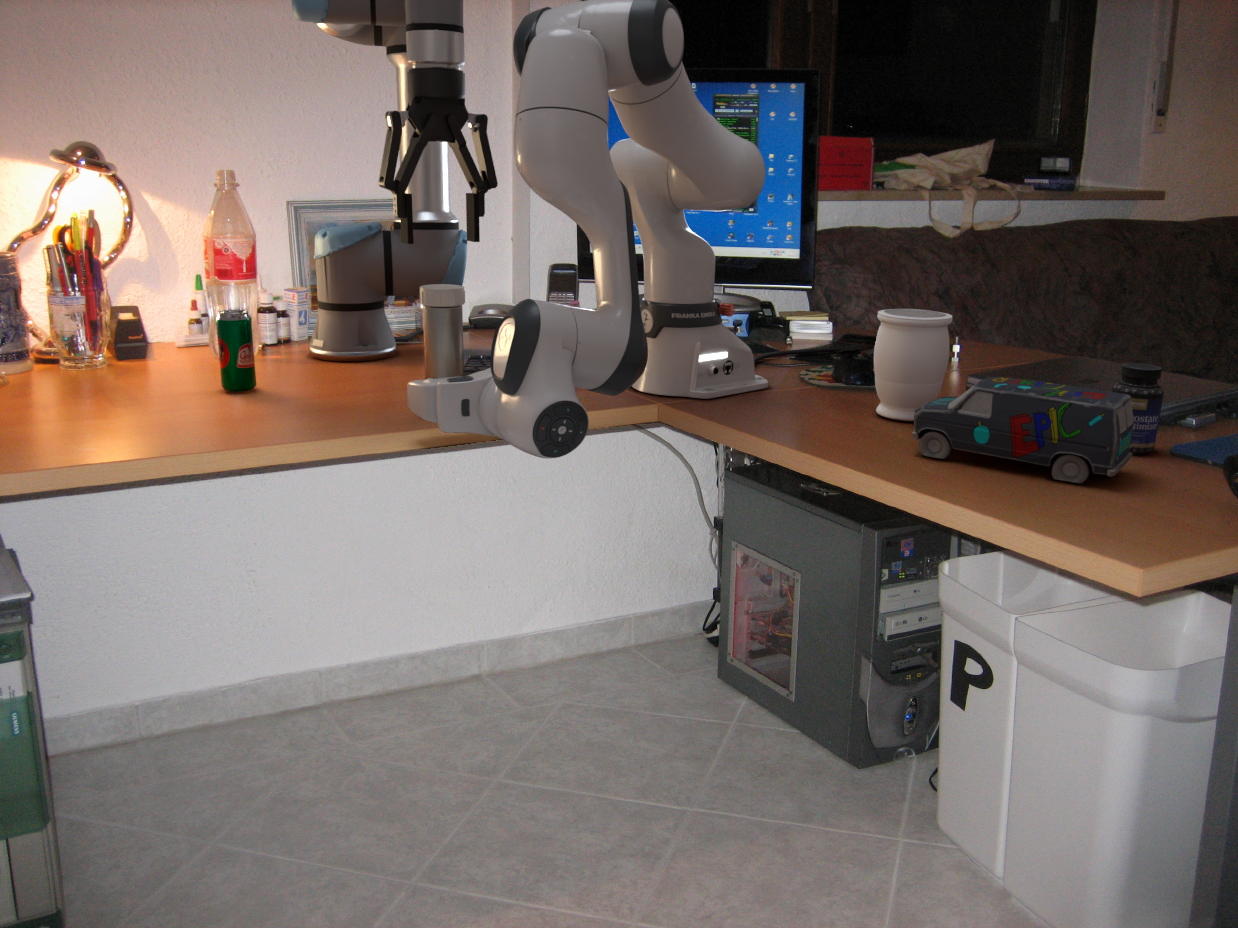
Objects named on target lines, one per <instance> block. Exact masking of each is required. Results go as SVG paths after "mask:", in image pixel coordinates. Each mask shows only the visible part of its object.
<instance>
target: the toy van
mask: <svg viewBox="0 0 1238 928" xmlns="http://www.w3.org/2000/svg"><path fill="white" fill-rule="evenodd" d="M1134 427H1135V426H1134V418H1133V410H1132V401H1131V396H1129V395H1127V394H1121V393H1115V392H1112V391H1108V390H1103V389H1102V390H1100V389H1094V388H1089V387H1081V386H1076V385H1068V384H1061V383H1054V382H1047V381H1042V380H1041V381H1040V380H1032V379H1026V378H1025V379H1024V378H1016V377H1015V378H1014V377H1003V376H989V377H985V378H982V379H981V380H979V381H977V382H976V383H975V384H974V385H972V386H971V387H970V388H969V389H967V390H966V391H964V392H963V393H962V394H960V395H959V396H950V395H946V396H942V397H939V398H937V399H936V400H934V401H931V402H929V403H926V404H924V405H923V406H921V407H919V408H918V409H916V410H915V414H914V421H913V431H912V432H911V435H912V438H913V440H914V441H918V449H919V450H918V451H919V452H920V453H921V455H922V456H925V457H931V458H937V459H942V460H945V459H947V458H948V457H949V456H950V455H951V452H952V449H953V450H958V451H963V452H969V453H974V454H979V455H984V456H990V457H991V456H992V457H997V458H1002V459H1008V460H1013V461H1017V462H1018V461H1019V462H1024V463H1028V464H1034V465H1039V466H1043V467H1044V466H1045V467H1051V466H1052V467H1051V476H1052V479H1053V480H1058V481H1062V482H1068V483H1074V484H1083V483H1084V482H1086V481H1087V480H1088V479H1089V475H1090V473H1091V472H1092V474H1095V475H1105V476H1107V477H1115V475H1116V474H1118V473H1119V472H1120V471H1121V470H1122V469H1123V468H1125V466H1126V464H1127V463H1129V462H1130V460H1131V458H1132V456H1133V455H1134V453H1131V452H1129V451H1130V448H1131V441H1132V436H1133V430H1134ZM1090 471H1091V472H1090Z"/></svg>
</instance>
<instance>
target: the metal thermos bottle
mask: <svg viewBox="0 0 1238 928" xmlns="http://www.w3.org/2000/svg"><path fill="white" fill-rule="evenodd" d="M463 318H464V317H463V305H460V306H450V307H434V306H425V305H422V326H423V328H422V329H423V330H424V333H423V353H424V354H423V355H424V357H423V359H424V380H426V379H427V378H434V377H438V378H448V377H458V376H465V363H464V362H465V361H464V359H465V358H464V330H463V326H464V320H463Z"/></svg>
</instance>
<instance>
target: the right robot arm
mask: <svg viewBox="0 0 1238 928" xmlns="http://www.w3.org/2000/svg"><path fill="white" fill-rule="evenodd" d="M682 22H683V21H682V18H681V15H680V13H679V11H678V9H677V8H676V6H675V5H674V4H673V3H672V2H671V1H669V0H580V1H575V2H571V3H566V4H563V5H558V6H555V7H550V6H545V7H542V8H539V9H536V10H534V11H532V12H530V13H528V14H526V15H525V16H524V17H523V18H522V19H521V21H520V23H519V24H518V26H517V28H516V30H515V32H514V36H513V43H512V45H513V46H512V49H513V50H512V51H513V54H512V55H513V59H514V60H513V61H514V66H515V69H516V71H517V74H518V76H519V78H520V79H519V85H518V90H517V96H516V97H517V98H516V103H515V114H514V127H513V128H514V129H513V155H514V156H513V157H514V163H515V166H516V169H517V171H518V172H519V173H518V174H520V176H521V178H522V179H523V181H524V182H525V184H526V185H527V186H528V188H530V189H531V190H532V191H533V192H534V193H535V194H536V195H538V197H539V198H540V199H542V200H543V201H545V202H546V203H548V204H549V205H551V206H553V207H554V208H556V209H557V210H559V211H560V212H561V213H563V214H564V215H566V216H567V217H568V218H569V219H571V221H573V222H574V223H575V224H576V225H577V226H578V227H579V228H580V229H581V230H582V231H583V233H585V236H586V237H587V239H588V241H589V243H590V247H591V250H592V259H593V260H592V261H593V270H594V271H593V272H594V273H593V274H594V287H595V299H596V300H595V301H596V309H590V308H584V307H579V306H572V305H566V304H564V303H558V302H553V301H546V300H539V299H532V298H525V299H523V300H521V301H519V302H517V304H515V305H514V306H512V307H511V308H510V310H508V311H507V312H506V314H505V315H504V316H503V317H502V319H501V320H500V321H499V322H498V325H497V326H496V329H495V330H494V334H493V339H492V343H491V349H490V366H489V367H488V368H486V369H485V370H484V369H483V370H479V371H476V372H474V373H471V374H466V375H464V376H458V377H448V378H438V377H434V378H427V379H426V380H425V379H415V380H410V381H409V382H408V383H407V385H406V402H407V403H406V404H407V407H408V409H409V411H410V412H412V413H413V414H414V415H416V416H417V417H419V418H421V419H422V420H424V421H426V422H429V423H432V424H437V427H438V430H439V431H440V432H442V433H446V434H475V435H476V434H477V435H483V436H488V437H497V438H499V439H500V440H504V441H505V442H507V443H508V444H509V445H510V446H512V447H514V448H515V449H517V450H519V451H521V452H524V453H526V454H528V455H531V456H534V457H537V458H540V459H557V458H561V457H564V456H566V455H568V454H570V453H572V452H573V451H574V450H576V449H577V448H578V447H579V446H580V445H581V444H582V443H583V441H584V440H585V438H586V436H587V434H588V431H589V424H590V421H589V420H590V419H589V415H588V412H587V410H586V408H585V406H584V405H583V403H582V402H581V400H580V399H579V396H578V394H577V391H576V389H582V390H586V391H589V392H592V393H597V394H601V395H605V396H609V397H615V396H619V395H620V394H622V393H624V392H626V391H627V390H628V389H629V388H631V387H632V388H633V389H634V390H637V391H639V392H642V393H646V394H651V395H658V396H668V397H669V396H670V397H684V398H694V399H702V400H708V399H709V400H710V399H714V398H721V397H726V396H731V395H736V394H742V393H747V392H753V391H759V390H763V389H767V388H769V381H768V379H766V378H764V377H763V376H761V375H758V374H756V367H755V365H756V363H757V362H759V361H763V360H766V359H770V358H775V357H783V356H794V355H806V354H820V353H822V354H823V353H836V351H838V350H842V349H846V348H858V347H859V348H860V347H864V345H860V344H858V345H859V346H852V345H850V346H851V347H843V346H840V347H841V348H829V347H823V348H824V349H819V348H820V347H815V348H801V349H800V348H798V349H787V350H779V351H773V352H772V351H771V352H766V353H762V354H759V355H756V356H754V353H753V351H752V348H751V347H750V346H749V345H748V344H747V343H745V342H744V341H743V340H742V339H741V338H739V337H738V335H736V334H735V333H734V332H732V331H731V330H730V329H729V328H728V327H727V326H726V325H725V324H723V319H722V316H725V317H728V318H731V317H733V316H734V314H735V313H736V312H735V311H736V306H735V305H734V304H733V303H727V302H723V303H721V304H720V303H719V302H718V301H717V300H715V280H716V279H715V277H716V255H715V252H714V249H713V247H712V246H711V245H710V243H709V242H708V241H707V240H705V239H704V238H703V237H701V236H699V235H698V234H696V233H695V232H694V231H692V229H691V228H690V227H689V225H688V223H687V220H686V215H685V211H703V212H725V211H731V210H736V209H737V210H738V209H743V208H744V209H745V208H747V207H748V208H749V207H750V206H751V205H752V204H754V202H756V200H757V199H758V198H759V196H760V194H761V193H762V190H763V188H764V185H765V181H766V164H765V160H764V157H763V154H762V153H761V151H760V149H759V147H758V146H757V145H756V144H755V143H754V142H752V141H750V140H748V139H745V138H743V137H741V136H739V135H738V134H735V133H734V132H732V131H731V130H730V129H728V128H726V127H725V126H724V125H722V123H720V121H718V120H717V118H715V117H714V116H713V115H712V114H711V113H710V112H709V111H708V110H707V109H706V108H705V107H704V106H703V104H702V102H700V100H699V98H698V97H697V94H696V91H695V90H694V88H693V86H692V84H691V81H690V79H689V76H688V74H687V71H686V69H685V68H686V67H685V66H684V63H683V58H684V51H685V50H684V49H685V35H684V27H683V23H682ZM610 102H611V103H612V105H613V107H614V110H615V112H616V115H617V117H618V119H619V121H620V123H621V126H622V128H623V130H624V132H625V133H626V134H627V136H628V138H624V139H621V140H618V141H616V142H615V143H614V144H613V145H612V146H611V148H610V146H609V114H610ZM635 228H636V231H637V233H638V236H639V239H640V243H641V249H642V256H643V298H642V299H641V301H640V290H639V276H638V265H637V264H638V263H637V252H636V251H637V249H636V239H635V237H636V236H635ZM873 334H876V335H877V332H876V331H875V332H873ZM838 352H839V351H838Z"/></svg>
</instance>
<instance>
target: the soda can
mask: <svg viewBox="0 0 1238 928" xmlns="http://www.w3.org/2000/svg"><path fill="white" fill-rule="evenodd" d="M252 323H253V322H252V317H251V316H250V315H249V311H248V310H247V309H224V310H219V311H217V316H216V318H215V325H216V337H217V349H218V362H219V371H220V373H219V374H220V382H221V383H220V384H221V388H222V389H223V390H224V391H225V392H228V393H244V392H246V393H247V392H250V391H253V390H254V389H255V388H256V386H257V375H256V361H255V347H254V335H253V324H252Z"/></svg>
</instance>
